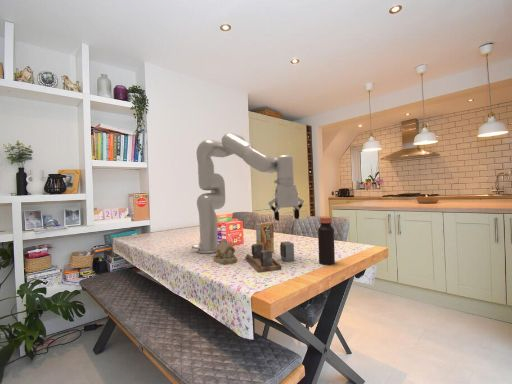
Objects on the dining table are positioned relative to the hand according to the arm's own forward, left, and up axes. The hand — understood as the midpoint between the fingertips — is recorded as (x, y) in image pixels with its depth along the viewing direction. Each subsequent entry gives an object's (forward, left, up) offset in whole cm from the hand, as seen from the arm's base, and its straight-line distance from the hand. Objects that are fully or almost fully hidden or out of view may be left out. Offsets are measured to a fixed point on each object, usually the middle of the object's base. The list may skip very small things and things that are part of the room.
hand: (287, 219), depth 125 cm
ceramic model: (-27, +12, -19) cm, 35 cm away
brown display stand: (-13, -2, -19) cm, 23 cm away
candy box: (-5, +17, -19) cm, 26 cm away
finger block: (0, 0, -19) cm, 19 cm away
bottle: (+14, -11, -19) cm, 26 cm away
